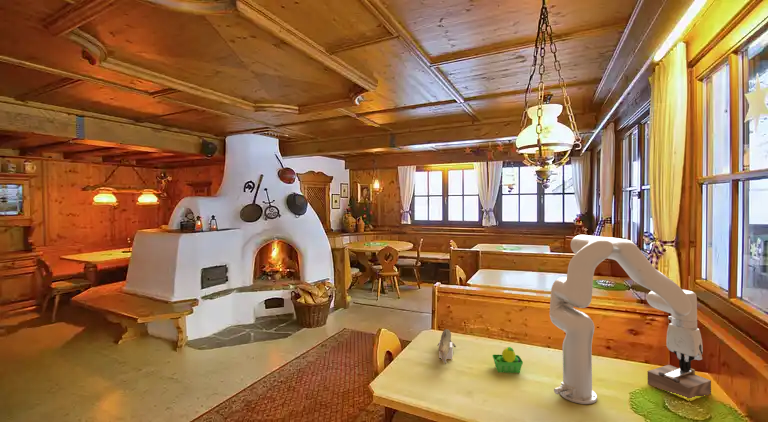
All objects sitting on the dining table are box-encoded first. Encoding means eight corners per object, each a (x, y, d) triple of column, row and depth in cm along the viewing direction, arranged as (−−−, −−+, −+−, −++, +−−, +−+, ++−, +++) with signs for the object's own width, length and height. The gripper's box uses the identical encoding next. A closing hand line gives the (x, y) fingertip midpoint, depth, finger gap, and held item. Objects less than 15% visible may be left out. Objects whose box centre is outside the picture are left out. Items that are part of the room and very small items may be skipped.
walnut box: (689, 402, 127) (689, 383, 126) (647, 383, 140) (647, 366, 139) (711, 393, 131) (711, 375, 131) (668, 376, 144) (668, 360, 144)
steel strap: (672, 379, 132) (672, 377, 132) (663, 376, 135) (663, 374, 135) (691, 372, 136) (691, 370, 136) (682, 369, 139) (682, 367, 139)
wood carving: (433, 376, 150) (432, 349, 150) (438, 343, 184) (438, 322, 184) (455, 377, 148) (454, 351, 148) (456, 344, 183) (455, 322, 182)
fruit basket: (518, 366, 157) (518, 340, 157) (524, 376, 148) (524, 349, 148) (492, 365, 158) (491, 340, 158) (496, 375, 150) (495, 348, 149)
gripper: (656, 318, 142) (657, 364, 142) (701, 330, 128) (702, 381, 128) (668, 315, 145) (669, 360, 145) (714, 327, 131) (714, 376, 131)
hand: (685, 370), depth 137 cm, fingers closed
